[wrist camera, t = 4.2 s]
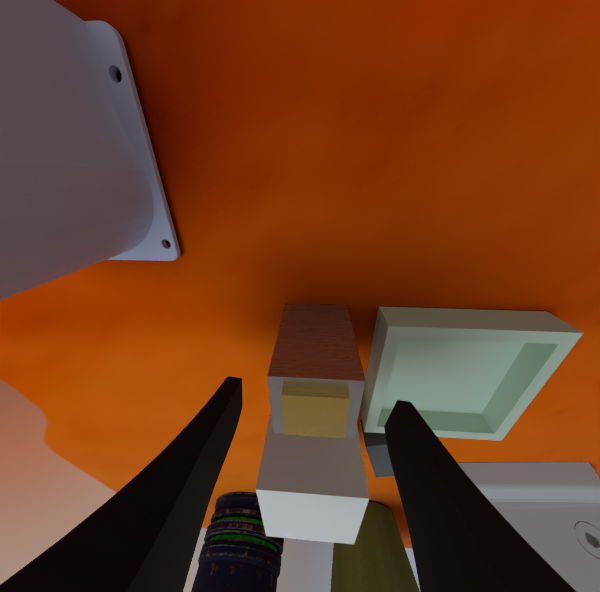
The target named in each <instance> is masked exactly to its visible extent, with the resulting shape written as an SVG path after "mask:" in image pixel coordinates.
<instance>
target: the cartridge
mask: <svg viewBox="0 0 600 592" xmlns="http://www.w3.org/2000/svg"><path fill="white" fill-rule="evenodd" d="M267 377H268V386H269V395H270V405H271V414H272V423H273V432H274V433H284V435H299V436H314V437H329V438H344V437H351V438H354V436H355V431H356V426H357V421H358V416H359V411H360V406H361V401H362V396H363V390H364V385H365V378H364V373H363V369H362V365H361V361H360V357H359V352H358V348H357V344H356V340H355V336H354V332H353V327H352V323H351V319H350V315H349V311H348V306H347V305H324V304H289V303H285V307H284V311H283V315H282V319H281V323H280V327H279V331H278V335H277V340H276V344H275V348H274V352H273V356H272V360H271V364H270V368H269V372H268V376H267Z"/></svg>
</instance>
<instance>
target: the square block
mask: <svg viewBox="0 0 600 592" xmlns="http://www.w3.org/2000/svg"><path fill="white" fill-rule="evenodd" d="M361 424H362V429H363V435H364V440H365V445H366V449H367V452H368V455H369V458H370V461H371V464H372V467H373V470H374V473H375V476H376V477H384V476H395V475H394V472H393V468H392V464H391V461H390V457H389V453H388V448H387V442H386V436H385V433H370V432H364V428H363V422H362V420H361Z"/></svg>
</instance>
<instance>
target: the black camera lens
mask: <svg viewBox="0 0 600 592" xmlns="http://www.w3.org/2000/svg"><path fill="white" fill-rule="evenodd" d="M204 542H205V543H204V544H203V547H202V550H201V553H200V557H199V560H198V562H199V567H198V571H197V574H196V577H195V581H194V584H193V587H192V590H191V592H276V586H277V578H278V576H279V574H280V567H281V554H282V552H283V543H284V538H280V537H270V536H266V534H265V529H264V525H263V520H262V515H261V511H260V506H259V502H258V497H257V493H251V492H231V493H227V494H224V495H222V496H220V497H219V498H218V500H217V502H216V505H215V513H214V514H213V516H212V518H211V524H210V525H209V526H208V528H207V531H206V535H205V538H204Z"/></svg>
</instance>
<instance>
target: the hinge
mask: <svg viewBox="0 0 600 592" xmlns="http://www.w3.org/2000/svg"><path fill="white" fill-rule="evenodd" d="M458 465H459V466H460V467H461V468H462V470H463V471H464V472H465V473H466V474H467V476H468V477H469V478H470V479H471V480H472V482H473V483H474V484H475V485H476V486H477V488H478V489H479V490H480V491H481V492H482V493H483V495H484V496H485V497H486V498H487V499H488V500H489V501H490V503H491V504H492V505H493V506H494V507H495V508H496V509H497V510H498V511H499V512H500V514H501V515H502V516H503V517H504V518H505V519H506V520H507V521H508V522H509V523H510V525H511V526H512V527H513V528H514V529H515V530H516V531H517V532H518V533H519V534H520V535H521V536H522V537H523V538H524V539H525V540H526V541H527V543H528V544H529V545H530V546H531V547H532V548H533V549H534V550H535V551H536V552H537V553H538V554H539V555H540V556H541V557H542V558H543V559H544V560H545V561H546V562H547V563H548V564H549V565H550V566H551V567H552V568H553V569H554V570H555V571H556V572H557V573H558V574H559V575H560V576H561V577H562V578H563V579H564V580H565V581H566V582H567V583H568V584H569V585H570V586H571V587H572V588H573V589H574V590H575V591H577V592H600V478H599V476H598V475H597V474H596V472H595V471H594V469H593V468H592V466H591V465H590V464H589V462H481V463H458Z"/></svg>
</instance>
